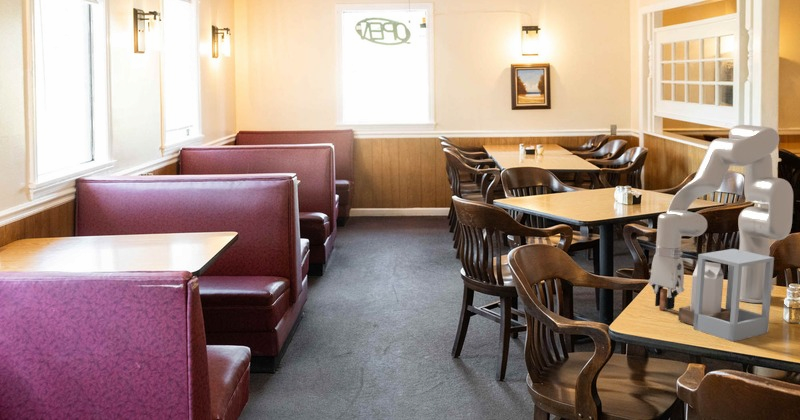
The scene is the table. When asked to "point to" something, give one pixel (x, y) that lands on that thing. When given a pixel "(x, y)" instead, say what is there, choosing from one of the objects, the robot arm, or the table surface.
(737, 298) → the grey open frame
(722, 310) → the brown tray with handle
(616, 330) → the table surface
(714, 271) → the milk carton
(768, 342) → the table surface
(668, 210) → the robot arm
